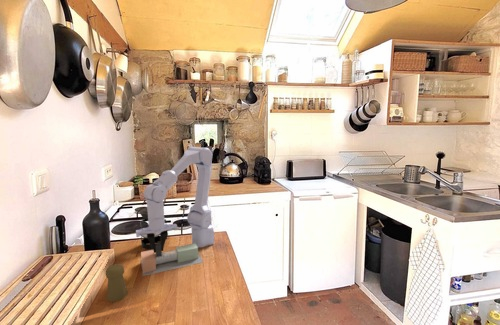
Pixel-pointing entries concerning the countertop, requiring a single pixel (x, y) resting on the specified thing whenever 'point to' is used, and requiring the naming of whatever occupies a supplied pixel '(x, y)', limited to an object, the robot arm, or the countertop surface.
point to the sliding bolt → (164, 255)
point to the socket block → (148, 261)
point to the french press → (144, 214)
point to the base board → (172, 265)
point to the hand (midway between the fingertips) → (158, 250)
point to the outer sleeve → (187, 252)
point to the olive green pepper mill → (115, 283)
